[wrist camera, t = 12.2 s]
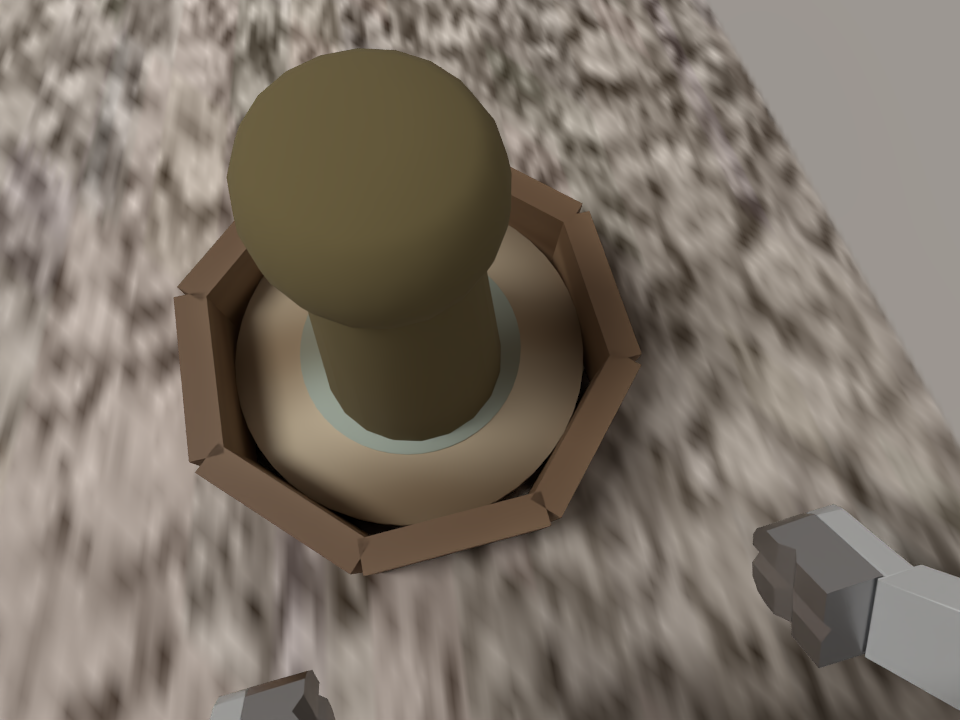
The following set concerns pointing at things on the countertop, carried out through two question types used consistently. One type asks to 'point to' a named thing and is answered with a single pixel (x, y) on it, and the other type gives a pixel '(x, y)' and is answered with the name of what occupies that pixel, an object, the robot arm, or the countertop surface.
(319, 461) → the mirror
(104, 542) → the countertop surface
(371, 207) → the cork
